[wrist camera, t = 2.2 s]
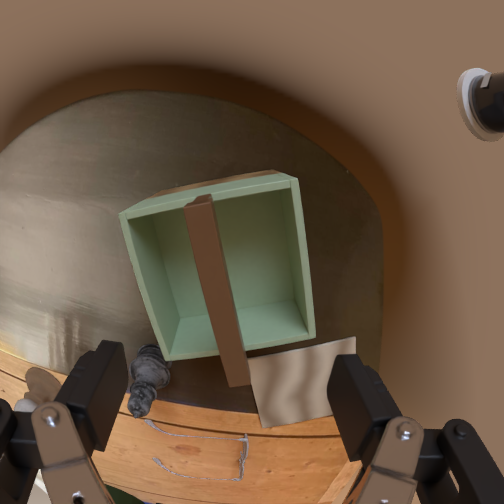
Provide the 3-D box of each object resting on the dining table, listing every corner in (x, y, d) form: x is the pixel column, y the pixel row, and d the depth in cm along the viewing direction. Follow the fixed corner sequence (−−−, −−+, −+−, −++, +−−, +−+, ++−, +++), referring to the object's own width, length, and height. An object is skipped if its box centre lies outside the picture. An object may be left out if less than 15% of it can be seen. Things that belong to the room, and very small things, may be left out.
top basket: (282, 172, 27) (313, 184, 16) (300, 300, 31) (329, 369, 20) (144, 199, 27) (93, 227, 16) (177, 321, 31) (155, 394, 20)
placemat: (354, 335, 41) (355, 337, 41) (352, 407, 46) (353, 409, 46) (245, 358, 41) (245, 360, 41) (262, 426, 46) (262, 428, 46)
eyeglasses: (240, 468, 51) (241, 483, 47) (153, 459, 49) (150, 474, 45) (248, 425, 46) (250, 442, 42) (144, 415, 44) (139, 431, 41)
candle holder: (28, 358, 40) (-28, 434, 21) (67, 383, 42) (21, 468, 23) (27, 386, 42) (-18, 457, 23) (63, 409, 44) (25, 486, 25)
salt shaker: (180, 354, 41) (167, 415, 29) (165, 379, 42) (150, 439, 31) (143, 335, 39) (118, 393, 28) (130, 362, 41) (106, 419, 29)
